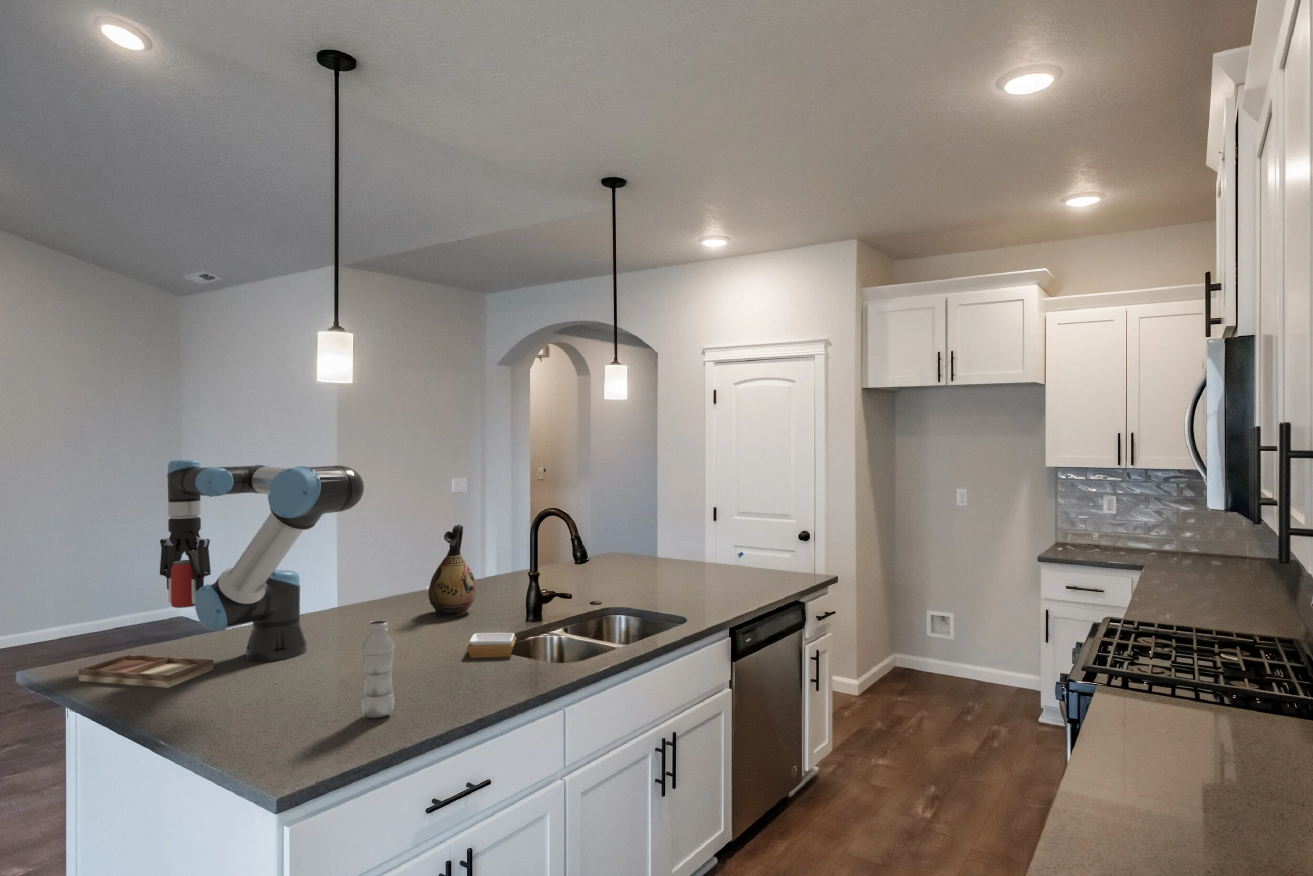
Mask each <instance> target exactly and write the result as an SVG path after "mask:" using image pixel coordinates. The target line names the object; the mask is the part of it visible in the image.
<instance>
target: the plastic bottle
mask: <svg viewBox="0 0 1313 876" xmlns="http://www.w3.org/2000/svg"><path fill="white" fill-rule="evenodd" d="M368 623H369V624H368V633H369V635H368V637H367V638H366V639H365V641H364V643H363V645H362V649H361V650H362V657H363V658H362V659H363V665H364V686H363V687H364V688H363V695H362V699H361V711H362V714H363V715H364V716H365V717H366V718H369V719H370V718H372V719H376V718H384V717H387V716H389V715H391V714H392V713H393V711H394V708H395V704H396V703H395V702H396V701H395V694H394V692H393V691H394V689H393V679H392V678H393V672H392V671H393V662H394V657H395V651H396V650H395V649H396V645H395V641H394V640H393V639H392V638H391V636H390V634H388V631H389V628H388V621H387V620H374V621H370V622H368Z"/></svg>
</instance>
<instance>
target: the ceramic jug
mask: <svg viewBox="0 0 1313 876" xmlns="http://www.w3.org/2000/svg"><path fill="white" fill-rule="evenodd" d="M444 533H445V534H444V535H443V539H444V541H445V542H447V543H448V544H449V550H448V551H447V554H446V556H445V557H444V558H443V560H442V561H441V563H440V564H439V565H438V567H437V568H436V569H435V571H434V573H433V575H432V577H431V579H430V584H429V587H428V592H427V594H428V600H429V604H430V605H431V607H432V608H433V609H434V611H435V612H436V615H437V616H438V617H444V618H445V617H446V618H447V617H449V618H451V617H459V616H463V615H465V614H466V613H467V611H468V610H469V609H470V607H471V606H472V605H473V603H474V602H475V600H476V599H475V598H476V596H477V583H476V579H475V577H474V573H473V572H472V569H470V566H469V565H468V563H467V562H466V560H465V558H464V557H463V556H462V554H461V547H462V541H463V540H462V539H463V535H464V534H463V533H464V526H463V525H461V524H457V525H454V526H453V527H452V531H450V530H448V531H446V532H444Z"/></svg>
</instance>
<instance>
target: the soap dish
mask: <svg viewBox="0 0 1313 876" xmlns="http://www.w3.org/2000/svg"><path fill="white" fill-rule="evenodd" d="M515 635H516V634H515V633H514V632H477V633H473V635H472V636H471V638H470V640H469V642H468V643H467V645H466V649H467V652H468V654H469V657H470V658H471V659H477V658H479V659H480V658H510V657H511V654H512V651H513V649H514V647H515V644H516V640H517V636H515Z"/></svg>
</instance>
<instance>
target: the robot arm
mask: <svg viewBox="0 0 1313 876" xmlns="http://www.w3.org/2000/svg"><path fill="white" fill-rule="evenodd" d="M166 476H167V499H168V503H167V508H168V509H167V511H168V513H167V516H168V517H170V518H168V520H167V521H168V523H167V524H168V525H167V527H168V529H167V530H168V532H170V535H169V537H167V538H161V539H160V540H159V542H160V543H159V544H160V548H161V549H160V550H161V552H160V560H159V561H160V562H159V563H160V564H159V575H160V576H163V577H165V578H166V588H167V591H168V603H169V604H171V568H172V566H173V562H175V561H181V560H182V557H183V555H184V554H185V555H186V556H187V558H188V560H189V562H190V565H191V568H192V571H193V575H194V577H193V578H192V604H195V606H194V607H195V613H196V616H197V618H198V620H199V622H200V624H201V625H203V627H204V628H205V629H207V630H210V631H218V630H226V629H230V628H233V627H234V628H235V627H238V626H242V625H246V624H250V623H252V630H251V633H250V636H249V639H248V642H247V645H246V648H245V659H246V660H248V661H251V662H274V661H275V662H276V661H282V660H289V659H292V658H297V657H300V656H302V655H304V654H306V653H307V651H308V642H307V640H306V637H305V635H304V632H303V628H302V626H301V615H300V614H301V602H300V601H301V599H300V598H301V584H300V575H299V573H298V572H297V571H294V570H289V569H277V568H278V567H279V565H280V563H281V562H282V561H283V559H284V558H285V557H286V555H287V553H289V551H290V550H291V548H292V547H293V546H294V544H295V542H296V541H297V540H298V539H299V537H300V536H301V534H302V533H303V531H308V530H311V529H312V528H314V527H315V525H316V524H317V523H318V522H319V520H320V519H321V518H322V517H323V515H325V514H332V513H339V512H340V513H341V512H344V511H345V512H346V511H347V510H350V509H352V508H354V507H355V506H356V505H357V504H358V503H359V502H360V501H361V499H362V497H363V495H364V490H365V486H364V481H363V478H362V476H361V475H360V474H359V473H358V471H356V470H355V469H354V468H351V467H349V466H345V465H327V466H326V465H325V466H303V465H302V466H296V467H288V468H287V467H274V466H270V465H263V464H256V465H243V466H214V467H212V466H210V467H209V466H208V467H201V462H200V461H199V460H198V459H175V460H171V461H169V462H168V465H167V474H166ZM237 494H259V495H260V494H262V495H263V494H264V495H267V500H268V505H269V510H270V514H269V515H268V517H267V518H266V519H265V521H264V522H263V523H262V525H261V527H259V529H258V531H256V534H255V535H254V537H253V538H252V540H251V541H250V542H249V544H248V545H247V547H246V549H245V550H244V551H243V553H242V554H241V556H240V557H239V559H238V560H237V562H235V565H234V566H233V567H231V568H226V569H225V570H224V571H223V572H222V573H221V574H220V575H219V576H218V578H217V580H216V581H215V582H214V583H212V584H205V583H204V582H205V580H204V578H205V577H207V576H211V574H212V572H211V571H212V570H211V562H210V561H211V560H210V550H209V546H210V541H211V540H210V539H209V538H202V537H201V535H200V533H199V532H200V530H201V529H202V523H201V522H202V519H201V517H200V515H201V496H202V497H203V496H205V497H206V496H207V497H209V498H210V497H220V496H226V495H237Z"/></svg>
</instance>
